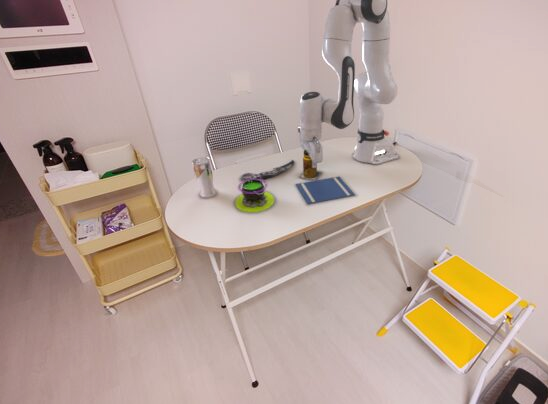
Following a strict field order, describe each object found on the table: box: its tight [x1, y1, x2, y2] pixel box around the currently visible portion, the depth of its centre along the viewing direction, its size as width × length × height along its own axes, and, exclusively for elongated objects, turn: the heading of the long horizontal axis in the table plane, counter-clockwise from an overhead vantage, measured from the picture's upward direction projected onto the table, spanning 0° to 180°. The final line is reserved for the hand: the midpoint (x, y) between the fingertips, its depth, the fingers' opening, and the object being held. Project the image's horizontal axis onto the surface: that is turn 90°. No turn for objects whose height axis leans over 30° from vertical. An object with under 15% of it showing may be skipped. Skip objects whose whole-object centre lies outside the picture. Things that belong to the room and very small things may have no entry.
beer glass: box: [191, 156, 217, 199], centre depth 119 cm, size 7×7×15 cm
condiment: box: [300, 149, 322, 181], centre depth 134 cm, size 7×8×12 cm
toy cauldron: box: [235, 173, 275, 213], centre depth 116 cm, size 15×15×11 cm
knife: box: [240, 159, 295, 181], centre depth 139 cm, size 28×2×10 cm
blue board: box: [295, 176, 356, 205], centre depth 126 cm, size 20×16×1 cm
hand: (311, 163), depth 133 cm, fingers closed on condiment, 6 cm apart
